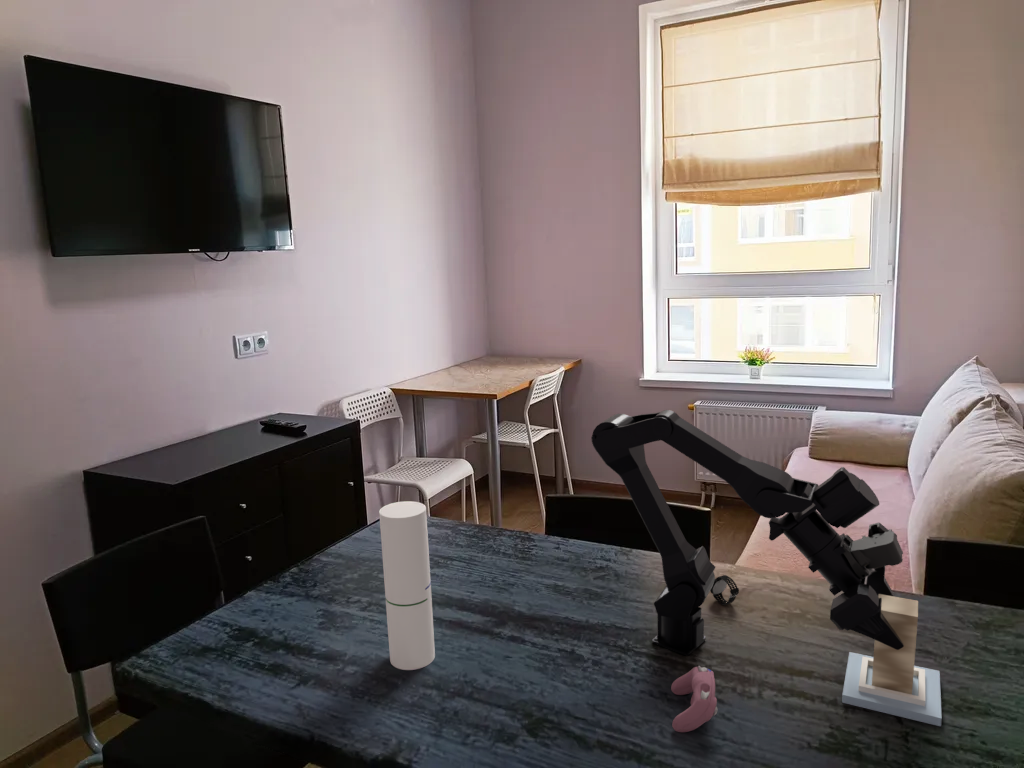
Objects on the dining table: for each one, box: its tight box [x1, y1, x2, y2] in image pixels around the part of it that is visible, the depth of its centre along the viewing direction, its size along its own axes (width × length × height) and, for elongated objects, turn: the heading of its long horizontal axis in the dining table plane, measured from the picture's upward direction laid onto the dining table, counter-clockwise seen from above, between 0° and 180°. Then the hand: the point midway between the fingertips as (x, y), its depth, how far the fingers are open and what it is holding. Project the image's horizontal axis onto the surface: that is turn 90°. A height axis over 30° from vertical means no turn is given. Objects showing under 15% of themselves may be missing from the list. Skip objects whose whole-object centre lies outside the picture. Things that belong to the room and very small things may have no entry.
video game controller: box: [670, 665, 718, 733], centre depth 102 cm, size 10×5×7 cm, turn 169°
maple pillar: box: [872, 594, 919, 695], centre depth 104 cm, size 5×5×12 cm
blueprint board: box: [841, 651, 942, 727], centre depth 106 cm, size 12×12×2 cm
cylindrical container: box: [379, 500, 436, 671], centre depth 116 cm, size 7×7×25 cm
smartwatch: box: [710, 574, 740, 606], centre depth 131 cm, size 4×5×5 cm
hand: (901, 631), depth 104 cm, fingers open, 9 cm apart
